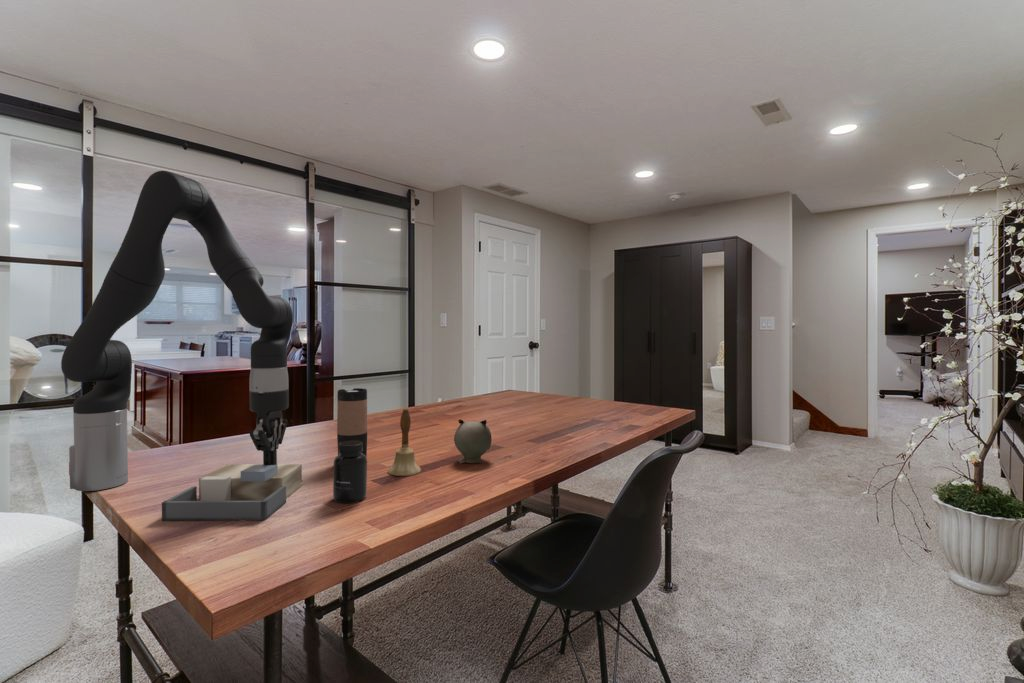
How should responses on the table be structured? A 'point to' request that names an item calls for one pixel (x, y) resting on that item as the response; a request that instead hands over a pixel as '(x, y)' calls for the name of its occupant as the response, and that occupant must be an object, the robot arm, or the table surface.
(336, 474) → the supplement bottle
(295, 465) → the bench
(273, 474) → the slate tile
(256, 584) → the table surface
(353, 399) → the travel mug
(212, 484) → the beige block
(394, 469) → the hand bell
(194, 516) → the tray
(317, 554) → the table surface
